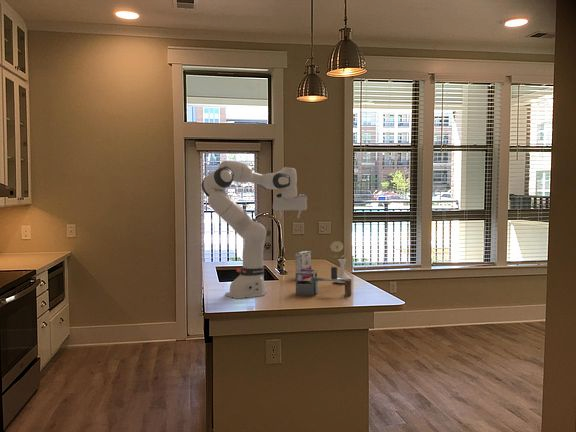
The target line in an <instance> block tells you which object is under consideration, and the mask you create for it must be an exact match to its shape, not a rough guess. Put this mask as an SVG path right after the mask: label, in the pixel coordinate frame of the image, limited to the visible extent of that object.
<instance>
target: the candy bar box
mask: <svg viewBox="0 0 576 432" xmlns="http://www.w3.org/2000/svg"><path fill="white" fill-rule="evenodd" d="M294 254H295V255H294V256H295V258H294V259H295V273H296V272H298V271H299V270H312V251H311V250H303V251H299V252H295V253H294ZM302 273H313V272H311V271H302ZM307 278H311V275H302V280H305V279H307Z"/></svg>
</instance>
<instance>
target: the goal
mask: <svg viewBox="0 0 576 432" xmlns="http://www.w3.org/2000/svg"><path fill="white" fill-rule="evenodd" d="M302 271H311V272H312V273H302ZM302 275H311V277H312V285H310V281H311V280H308V279H307V280H305V279H302ZM311 277H310V278H311ZM314 277H317V278H318V269H311V270H299V271H298V272H296V271H295V296H296V297H315V294H314Z"/></svg>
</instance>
